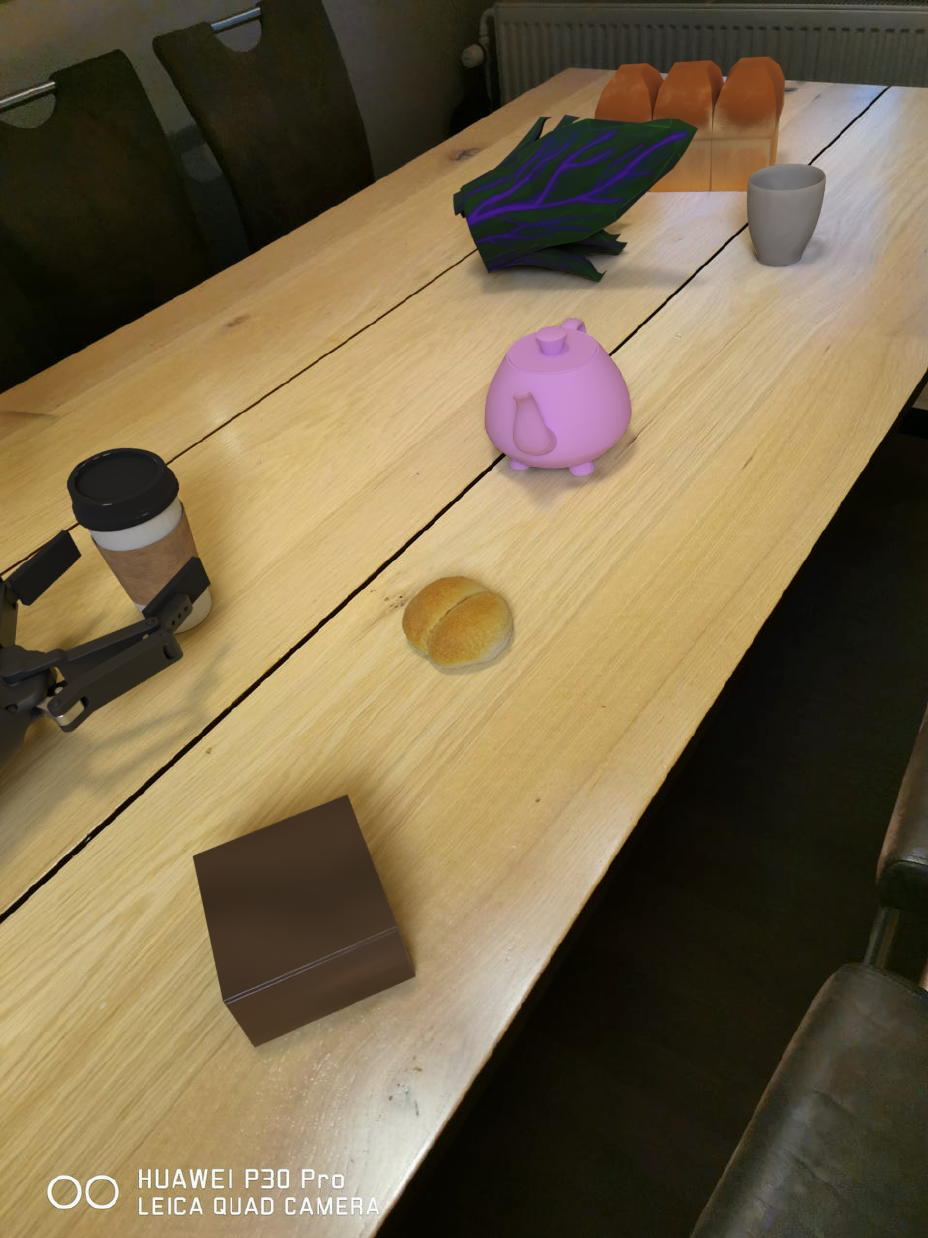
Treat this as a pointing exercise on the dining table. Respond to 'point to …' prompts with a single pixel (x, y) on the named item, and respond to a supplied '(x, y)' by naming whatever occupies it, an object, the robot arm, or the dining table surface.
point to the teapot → (557, 400)
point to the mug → (784, 210)
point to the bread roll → (458, 622)
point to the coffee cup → (136, 522)
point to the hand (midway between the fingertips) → (135, 555)
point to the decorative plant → (568, 191)
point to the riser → (299, 921)
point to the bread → (706, 117)
